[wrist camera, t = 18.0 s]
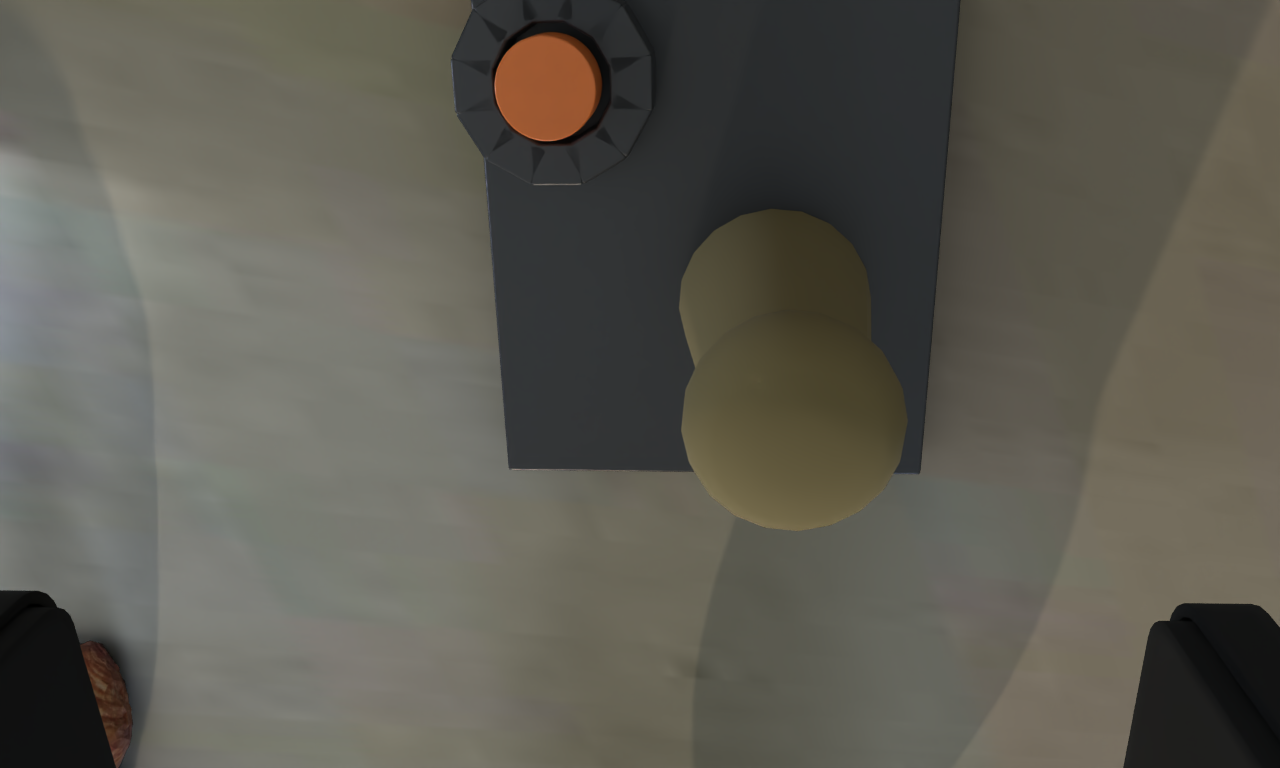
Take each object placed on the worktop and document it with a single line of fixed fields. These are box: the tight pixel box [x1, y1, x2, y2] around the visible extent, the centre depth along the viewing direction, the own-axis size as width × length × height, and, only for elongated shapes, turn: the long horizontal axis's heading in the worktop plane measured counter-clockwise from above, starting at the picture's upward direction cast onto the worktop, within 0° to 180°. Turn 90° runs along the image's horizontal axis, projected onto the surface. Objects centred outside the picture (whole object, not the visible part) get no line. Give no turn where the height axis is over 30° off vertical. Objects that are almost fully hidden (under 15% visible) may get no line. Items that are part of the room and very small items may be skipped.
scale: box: [451, 0, 960, 474], centre depth 32 cm, size 16×14×4 cm
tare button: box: [495, 32, 602, 141], centre depth 29 cm, size 3×3×2 cm
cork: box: [679, 209, 908, 531], centre depth 28 cm, size 6×6×11 cm
